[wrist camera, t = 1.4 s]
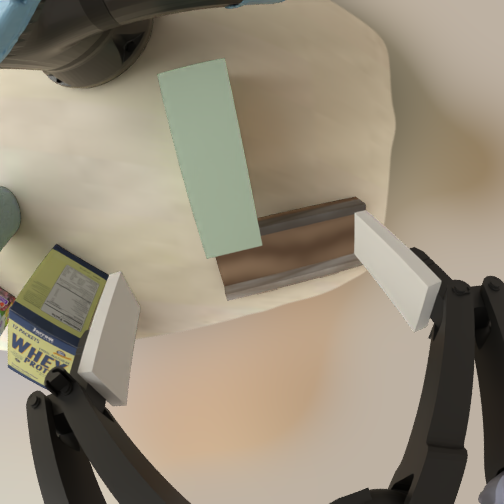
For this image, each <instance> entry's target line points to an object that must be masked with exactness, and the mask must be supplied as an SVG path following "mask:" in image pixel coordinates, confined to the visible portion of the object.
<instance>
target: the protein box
mask: <svg viewBox="0 0 504 504" xmlns="http://www.w3.org/2000/svg"><path fill="white" fill-rule="evenodd" d="M108 277H109V275H107V274H106V273H104V272H102V271H100V270H99V269H97V268H95V267H93V266H92V265H90V264H88V263H86V262H85V261H83V260H81V259H80V258H78V257H76V256H75V255H73V254H71V253H70V252H68V251H66V250H65V249H63V248H61V247H60V246H58V245H57V244H56V245H55V246H54V247H53V248H52V250H51V251H50V252H49V253H48V255H47V256H46V257H45V259H44V260H43V261H42V262H41V264H40V265H39V266H38V268H37V269H36V271H35V272H34V273H33V275H32V276H31V278H30V279H29V281H28V282H27V283H26V285H25V286H24V288H23V289H22V291H21V292H20V294H19V295H18V297H17V298H16V300H15V301H14V303H13V304H12V306H11V307H10V309H9V324H8V368H10V369H11V370H13V371H15V372H16V373H18V374H20V375H21V376H23V377H25V378H27V379H28V380H30V381H32V382H34V383H36V384H37V385H39V386H41V387H43V388H45V389H47V388H46V387H45V386H44V380H45V377H46V375H47V373H48V372H49V371H50V370H51V369H52V368H54V367H56V366H61V367H63V368H64V369H65V370H66V371H67V372H68V373H69V374H70V370H71V367H72V363H73V360H74V356H75V355H76V354H75V353H76V350H77V348H78V347H77V346H78V343H79V340H80V338H81V336H82V335H83V333H84V332H85V330H88V328H89V325H90V323H91V320H92V317H93V314H94V312H95V309H96V306H97V304H98V302H99V299H100V296H101V294H102V291H103V289H104V286H105V284H106V281H107V279H108ZM47 390H48V389H47Z"/></svg>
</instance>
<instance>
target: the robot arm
mask: <svg viewBox="0 0 504 504" xmlns="http://www.w3.org/2000/svg"><path fill="white" fill-rule="evenodd" d="M283 1H285V0H0V69H28V70H42V71H43V72H44V73H45V74H46V75H47V76H48V77H49V78H50V79H51V80H52V81H54V82H55V83H57V84H59V85H62V86H65V87H70V88H90V87H95V86H99V85H102V84H104V83H107V82H109V81H111V80H113V79H114V78H116V77H117V76H119V75H120V74H122V73H123V72H124V71H126V70H127V69H128V68H129V67H130V66H131V65H132V64H133V63H134V62H135V61H136V60H137V58H138V57H139V56H140V54H141V53H142V52H143V50H144V48H145V46H146V45H147V43H148V40H149V38H150V35H151V31H152V26H153V18H154V17H159V16H164V15H169V14H174V13H179V12H185V11H192V10H199V9H207V8H217V7H225V8H227V9H232V8H238V7H241V6H243V5H255V4H274V3H279V2H283ZM354 254H355V255H356V257H357V258H358V259H359V260H360V262H361V263H362V264H363V265H364V267H365V268H366V269H367V270H368V272H369V273H370V274H371V275H372V277H373V278H374V279H375V280H376V282H377V283H378V284H379V286H380V287H381V288H382V289H383V291H384V292H385V293H386V295H387V296H388V297H389V299H390V300H391V301H392V303H393V304H394V305H395V307H396V308H397V309H398V311H399V312H400V313H401V315H402V316H403V318H404V319H405V320H406V322H407V323H408V325H409V326H410V327H411V329H412V330H413V332H416V331H418V330H421V329H423V328H425V327H426V326H427V325H428V322H429V319H430V318H431V319H432V321H433V322H434V325H433V327H432V330H431V333H430V335H429V339H430V338H431V344H430V351H429V357H428V364H427V369H426V375H425V380H424V385H423V390H422V394H421V398H420V403H419V407H418V411H417V414H416V418H415V422H414V425H413V429H412V432H411V435H410V439H409V442H408V445H407V448H406V451H405V454H404V457H403V459H402V462H401V464H400V465H399V467H398V468H397V470H396V472H395V474H394V476H393V478H392V481H391V483H390V485H389V488H388V489H372V490H369V489H368V488H366V489H363V490H361V491H358V492H355V493H353V494H350V495H347V496H345V497H341V498H339V499H337V500H335V501H333V502H332V503H330V504H454V502H455V499H456V496H457V493H458V490H459V487H460V484H461V481H462V477H463V474H464V470H465V466H466V462H467V456H468V455H467V450H466V449H465V448H464V440H465V435H466V430H467V424H468V418H469V412H470V404H471V396H472V387H473V375H474V358H475V363H476V369H477V375H478V381H479V388H480V396H481V404H482V415H483V429H484V469H485V477H486V484H487V485H486V486H485V488H484V490H483V491H482V492H481V493H480V495H479V498H478V500H479V502H480V503H481V504H504V283H503V282H502V281H501V280H500V279H499V278H497V277H495V276H487V277H486V278H484V281H483V283H482V285H481V286H473V287H470V286H469V285H468V284H467V283H465V282H463V281H461V280H452V279H451V278H450V277H449V276H448V275H447V274H446V273H445V272H444V271H443V270H442V269H441V268H440V267H439V266H438V265H437V264H435V263H434V261H433V260H431V259H430V258H429V257H428V256H427V255H426V254H425V253H424V252H423V251H421V250H419V249H417V248H415V247H413V248H410V249H409V248H408V247H407V246H406V245H405V244H404V243H403V242H401V240H400V239H398V238H397V237H396V236H395V235H394V234H393V233H392V232H391V231H390V230H388V229H387V228H386V227H385V226H384V225H383V224H382V223H381V222H380V221H378V220H377V219H376V218H375V217H374V216H373V215H371V214H370V213H369V212H368V211H367V210H364V211H360V212H356V213H355V240H354ZM140 309H141V307H140V305H139V303H138V302H137V300H136V298H135V296H134V294H133V293H132V291H131V289H130V287H129V285H128V283H127V282H126V280H125V278H124V276H123V274H122V272H121V271H120V272H116V273H112V274H110V275H109V277H108V280H107V282H106V285H105V287H104V290H103V293H102V296H101V298H100V301H99V304H98V307H97V310H96V312H95V315H94V318H93V321H92V324H91V328H90V330H85V332H84V333H83V335H82V336H81V338H80V340H79V343H78V346H77V347H78V348H77V350H76V353H75V354H76V355H75V356H74V360H73V363H72V367H71V370H70V374H69V373H68V372H67V371H66V370H65V369H64V368H63V367H61V366H56V367H54V368H52V369H51V370H50V371H49V372H48V373H47V375H46V377H45V380H44V386H45V387H46V388H47V389H48V390H49V391H50V392H51V393H52V394H50V395H48V396H46V395H44V394H43V393H42V392H41V391H35V392H33V393H32V394H31V395H30V396H29V398H28V400H27V404H26V409H27V419H28V428H29V436H30V443H31V449H32V455H33V460H34V465H35V469H36V474H37V478H38V482H39V486H40V490H41V494H42V497H43V500H44V504H106V501H105V499H104V497H103V495H102V492H101V490H100V488H99V485H98V482H97V480H96V478H95V475H94V472H93V469H92V467H91V464H92V465H93V467H94V468H95V470H96V471H97V473H98V474H99V476H100V477H101V479H102V480H103V482H104V483H105V485H106V486H107V488H108V489H109V490H110V492H111V493H112V494H113V496H114V497H115V498H116V500H117V501H118V502H119V504H191V503H190V502H188V501H187V500H186V499H185V498H184V497H183V496H182V495H181V494H180V493H179V492H178V491H177V490H176V489H175V488H174V487H172V485H171V484H170V483H169V482H168V481H167V480H166V479H165V478H164V477H163V476H162V475H161V474H160V473H159V472H158V471H157V470H156V469H155V468H154V466H153V465H152V464H151V463H150V462H149V461H148V460H147V459H146V458H145V456H144V455H143V454H142V453H141V452H140V450H139V449H138V448H137V447H136V446H135V445H134V443H133V442H132V441H131V439H130V438H129V437H128V436H127V434H126V433H125V432H124V431H123V429H122V428H121V426H120V425H119V424H118V423H117V421H116V420H115V418H114V417H113V416H112V414H111V413H110V411H109V410H108V409H107V408H106V407H105V403H106V401H107V402H109V403H110V404H111V405H112V406H125V405H126V404H127V395H128V386H129V378H130V369H131V363H132V356H133V349H134V342H135V337H136V331H137V325H138V320H139V314H140ZM89 460H90V461H89ZM90 462H91V464H90Z"/></svg>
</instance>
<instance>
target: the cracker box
mask: <svg viewBox="0 0 504 504" xmlns="http://www.w3.org/2000/svg"><path fill="white" fill-rule="evenodd" d="M157 76H158V80H159V85H160V89H161V94H162V98H163V102H164V106H165V111H166V115H167V119H168V123H169V127H170V131H171V135H172V139H173V143H174V146H175V150H176V154H177V158H178V161H179V165H180V169H181V173H182V176H183V180H184V183H185V187H186V191H187V194H188V198H189V201H190V205H191V208H192V211H193V215H194V218H195V222H196V225H197V228H198V232H199V235H200V238H201V241H202V245H203V248H204V251H205V254H206V257H207V259H209V258H213V257H217V256H221V255H225V254H229V253H233V252H237V251H242V250H246V249H250V248H254V247H258V246H262V241H261V236H260V230H259V225H258V220H257V215H256V210H255V205H254V199H253V194H252V189H251V184H250V179H249V174H248V169H247V164H246V159H245V154H244V149H243V144H242V139H241V134H240V129H239V124H238V119H237V114H236V110H235V105H234V100H233V95H232V90H231V85H230V81H229V76H228V71H227V66H226V62H225V58H221V59H216V60H211V61H207V62H202V63H198V64H193V65H189V66H185V67H181V68H178V69H174V70H170V71H167V72H163V73H160V74H157Z"/></svg>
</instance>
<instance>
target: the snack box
mask: <svg viewBox="0 0 504 504" xmlns="http://www.w3.org/2000/svg"><path fill="white" fill-rule="evenodd" d="M14 301H15V297H14V296H12V295H11V294H9V293H8V292H6V291H5V290H3V289H2V288H0V336H1V334H2V332H3V331H4V329H5V327H6V326H7V324H8V322H9V309H10V307H11V306H12V304H13V303H14Z"/></svg>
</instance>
